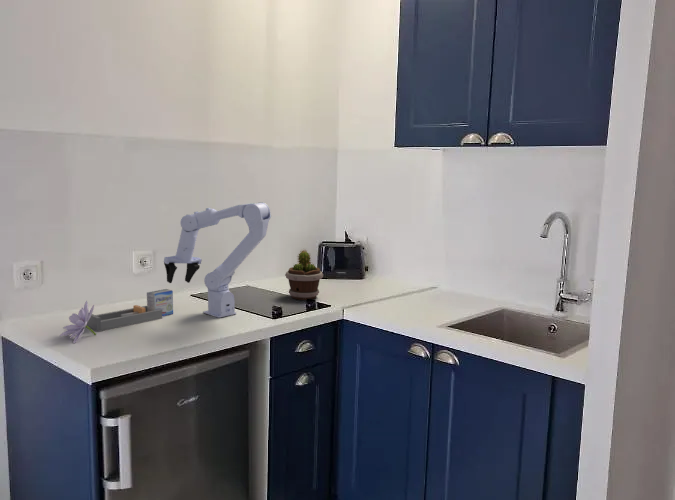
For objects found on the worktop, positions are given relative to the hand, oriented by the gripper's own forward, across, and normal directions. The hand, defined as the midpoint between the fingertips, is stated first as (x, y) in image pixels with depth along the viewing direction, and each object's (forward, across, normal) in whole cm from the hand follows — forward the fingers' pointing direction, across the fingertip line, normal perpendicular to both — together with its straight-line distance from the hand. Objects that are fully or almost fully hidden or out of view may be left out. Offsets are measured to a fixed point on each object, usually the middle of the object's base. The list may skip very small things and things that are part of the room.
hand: (178, 281), depth 216 cm
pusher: (+11, +19, +5) cm, 22 cm away
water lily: (+13, +39, +11) cm, 43 cm away
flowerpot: (+1, -48, +18) cm, 51 cm away
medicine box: (+11, +8, +5) cm, 14 cm away
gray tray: (+12, +21, +5) cm, 25 cm away
